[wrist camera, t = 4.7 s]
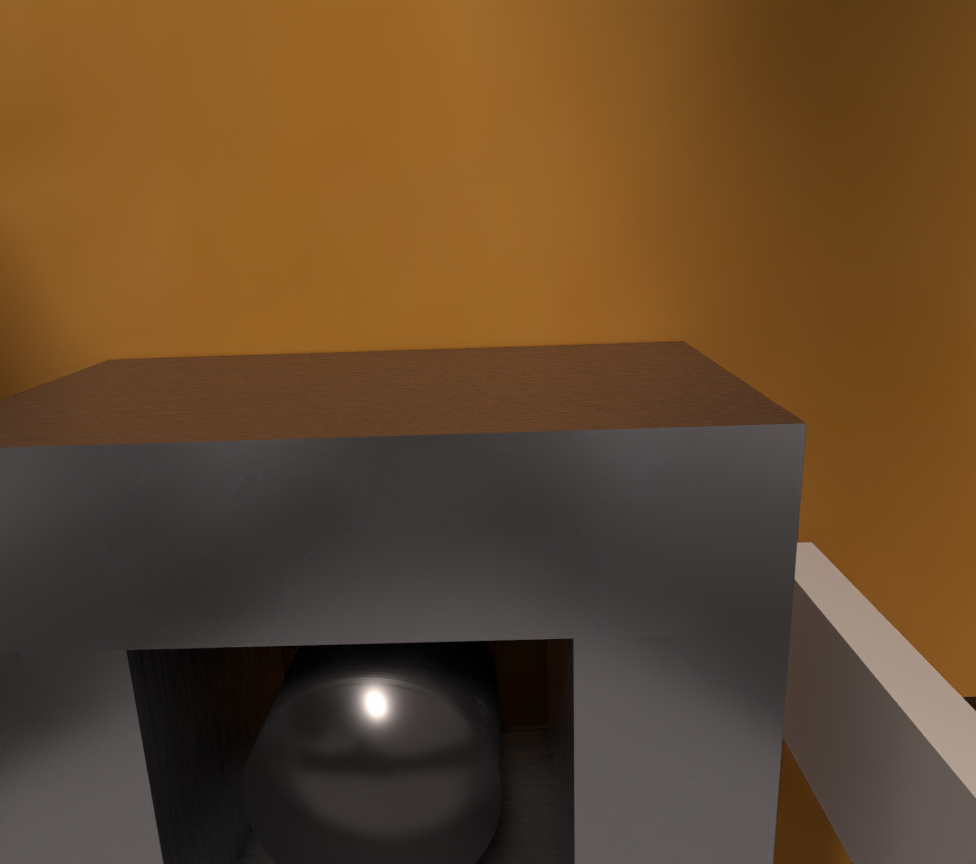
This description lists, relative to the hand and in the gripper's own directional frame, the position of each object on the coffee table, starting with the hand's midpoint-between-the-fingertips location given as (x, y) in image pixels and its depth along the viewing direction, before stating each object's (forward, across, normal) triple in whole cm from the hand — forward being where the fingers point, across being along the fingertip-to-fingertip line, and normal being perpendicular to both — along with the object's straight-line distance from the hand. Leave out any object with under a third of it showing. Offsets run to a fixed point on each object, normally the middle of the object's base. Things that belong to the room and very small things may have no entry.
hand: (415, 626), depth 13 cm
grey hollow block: (0, 0, 0) cm, 0 cm away
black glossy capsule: (0, 0, 0) cm, 0 cm away
